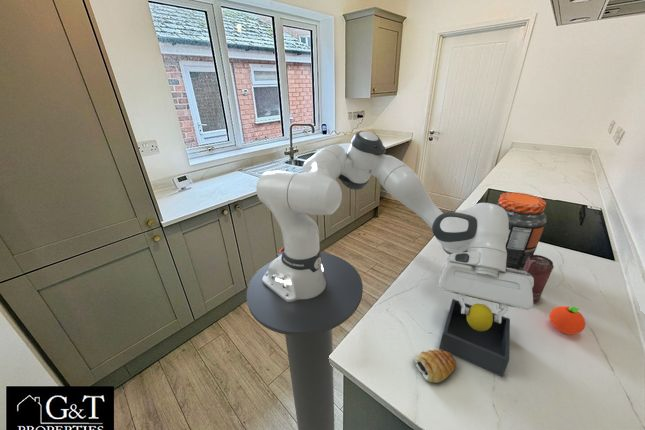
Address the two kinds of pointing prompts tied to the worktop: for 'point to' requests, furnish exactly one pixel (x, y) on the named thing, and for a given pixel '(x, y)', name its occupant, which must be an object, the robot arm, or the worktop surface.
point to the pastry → (435, 365)
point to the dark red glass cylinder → (538, 273)
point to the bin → (476, 341)
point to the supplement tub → (522, 226)
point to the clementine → (567, 319)
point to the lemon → (480, 317)
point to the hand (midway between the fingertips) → (480, 318)
